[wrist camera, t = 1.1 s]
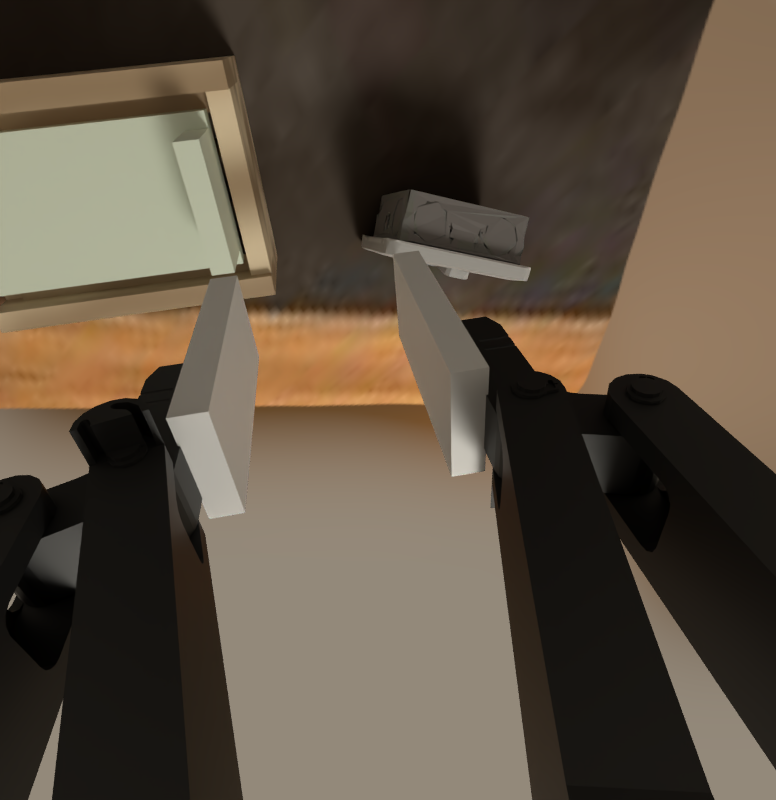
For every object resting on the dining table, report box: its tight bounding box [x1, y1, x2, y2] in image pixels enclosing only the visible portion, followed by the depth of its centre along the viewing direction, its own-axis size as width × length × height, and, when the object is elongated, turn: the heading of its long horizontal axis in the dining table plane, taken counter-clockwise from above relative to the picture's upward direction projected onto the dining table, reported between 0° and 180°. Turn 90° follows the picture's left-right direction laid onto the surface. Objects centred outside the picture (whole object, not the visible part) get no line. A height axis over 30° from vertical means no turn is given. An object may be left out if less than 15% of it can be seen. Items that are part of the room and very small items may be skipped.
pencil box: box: [0, 56, 277, 333], centre depth 30 cm, size 12×16×7 cm
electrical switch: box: [361, 190, 531, 281], centre depth 34 cm, size 9×5×9 cm, turn 76°
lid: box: [0, 108, 244, 296], centre depth 26 cm, size 8×14×4 cm, turn 95°
